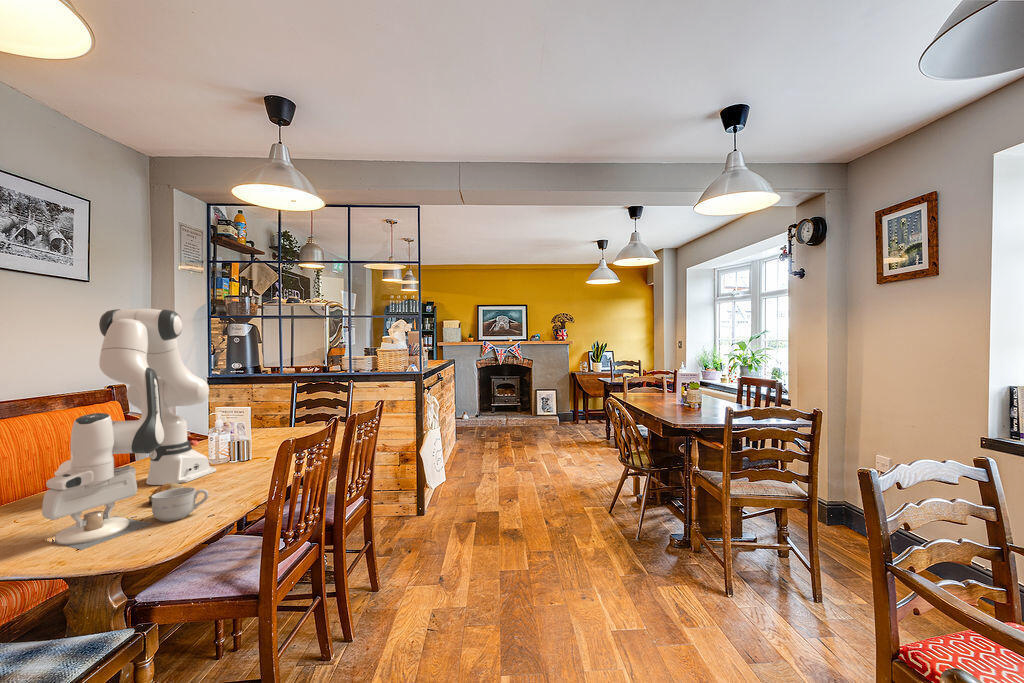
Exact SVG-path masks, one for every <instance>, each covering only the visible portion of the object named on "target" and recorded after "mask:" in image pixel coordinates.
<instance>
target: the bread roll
mask: <svg viewBox="0 0 1024 683" xmlns="http://www.w3.org/2000/svg"><path fill="white" fill-rule="evenodd" d="M177 488H185V486H184V485H183V484H182V483H167V484H164V485H159V486H158V487H157V488H156V489H154V491H153V492H152V493H151V494H150V495H149V496H148V499H149V500H148V505H150V506H152V498H151V496H152V495H154V494H156V493H159V492H162V491H166V490H171V489H177Z"/></svg>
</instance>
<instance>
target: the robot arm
mask: <svg viewBox="0 0 1024 683" xmlns="http://www.w3.org/2000/svg"><path fill="white" fill-rule="evenodd" d="M98 324H99V331H100V333H101V335H102V336H103V337H104V338H103V341H102V345H101V350H100V354H99V362H98V364H99V370H100V371H101V372H102V373H103V375H105V376H106V377H107V378H109V379H111V380H113V381H116V382H118V383H122V384H126V385H128V388H127V390H126V399H127V401H128V402H129V404H130V405H132V406H133V407H136V408H137V409H138V410H140V412H141V414H140V415H141V417H140V418H139V419H137V420H135V419H134V420H132V419H131V420H113V419H112V417H111V414H108V413H104V412H97V413H96V412H95V413H94V412H93V413H89V414H84V415H81V416H78V417H77V418H76V419H75V420H74V421H73V424H72V428H71V433H70V453H71V452H72V455H73V459H72V462H71V469H70V470H68V471H66V472H64V473H62V474H60V475H58V476H56V475H55V476H54V477H52V478H50V479H48V480H47V481H46V482H45V483H46V487H47V488H48V490H47V491H46V492H45V493H44V496H43V498H42V499H43V500H42V507H41V508H42V509H41V512H42V513H41V515H42V517H43V518H45V519H48V520H51V521H52V520H58V519H61V518H64V517H68V516H70V517H71V519H73V520H74V521H75V525H76V527H77V528H82V527H85V526H87V524H86V523H87V520H84V518H81V517H80V516H82V515H83V514H82V513H83V512H85V511H88V510H91V509H94V508H98V507H101V506H104V507H105V508H104V510H103V521H104V520H107V519H110V518H111V513H112V510H113V509H114V508H115V506H116V505H115V504H116V502H119V501H122V500H125V499H129V498H132V497H134V496H136V494H137V493H138V485H137V479H136V474H137V472H136V468H135V467H134V466H131V465H124V466H120V467H119V466H118V467H115V457H114V455H119V454H120V455H121V454H123V455H124V454H149V461H150V462H149V463H150V464H149V469H148V474H147V479H146V482H145V484H147V485H150V486H162V485H164V484H167V483H178V484H182V483H188V482H191V481H193V480H196V479H199V478H201V477H204V476H207V475H210V474H212V473H215V472H217V468H216V467H214V466H210V462H209V461H210V460H209V458H208V457H207V456H206V455H205V454H203V453H201V452H200V451H197V450H195V449H193V447H196V446H198V441H197V440H188V422H187V421H186V419H185V418H184V417H182V416H179V415H177V414H175V413H174V412H172V410H171V408H170V407H190V406H194V405H199V404H202V403H204V402H205V401H206V400H207V398H208V396H209V394H210V388H209V385H208V383H207V382H206V381H205V380H204V379H203V378H201V377H199V376H197V375H196V374H194V373H193V372H191V371H190V370H189V369H188V368H187V366H185V364H184V362H183V360H182V357H181V353H180V348H179V344H178V340H177V339H178V337H179V336H180V335H181V333H182V329H183V322H182V318H181V315H179V314H178V313H177V312H176V310H175V311H174V310H171V309H156V308H134V309H133V308H132V309H131V308H130V309H127V308H126V309H119V308H118V309H117V308H116V309H110V310H107V311H106V312H105V313H103V314H102V315H101V316H100V319H99V322H98ZM192 446H193V447H192Z"/></svg>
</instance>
